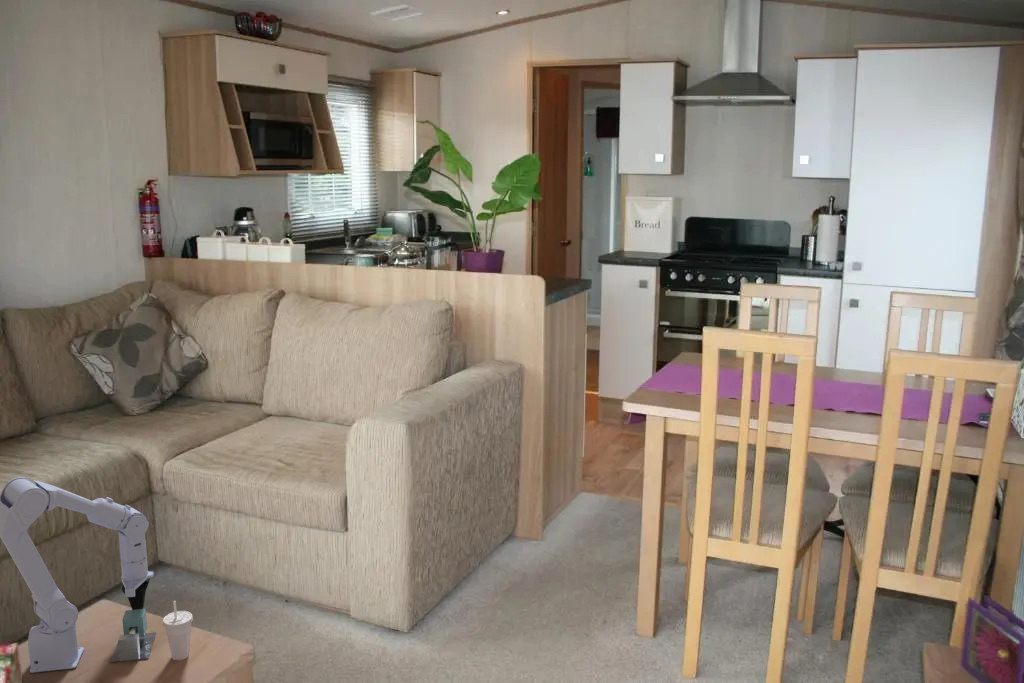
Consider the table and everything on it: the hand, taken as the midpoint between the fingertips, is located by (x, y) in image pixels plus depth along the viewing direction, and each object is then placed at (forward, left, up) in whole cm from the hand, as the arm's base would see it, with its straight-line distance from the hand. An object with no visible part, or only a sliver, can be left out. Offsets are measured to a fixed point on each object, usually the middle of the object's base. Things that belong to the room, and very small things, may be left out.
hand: (138, 610), depth 213 cm
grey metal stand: (0, -8, -5) cm, 10 cm away
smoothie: (+11, -13, -6) cm, 18 cm away
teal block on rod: (0, -5, -3) cm, 6 cm away
